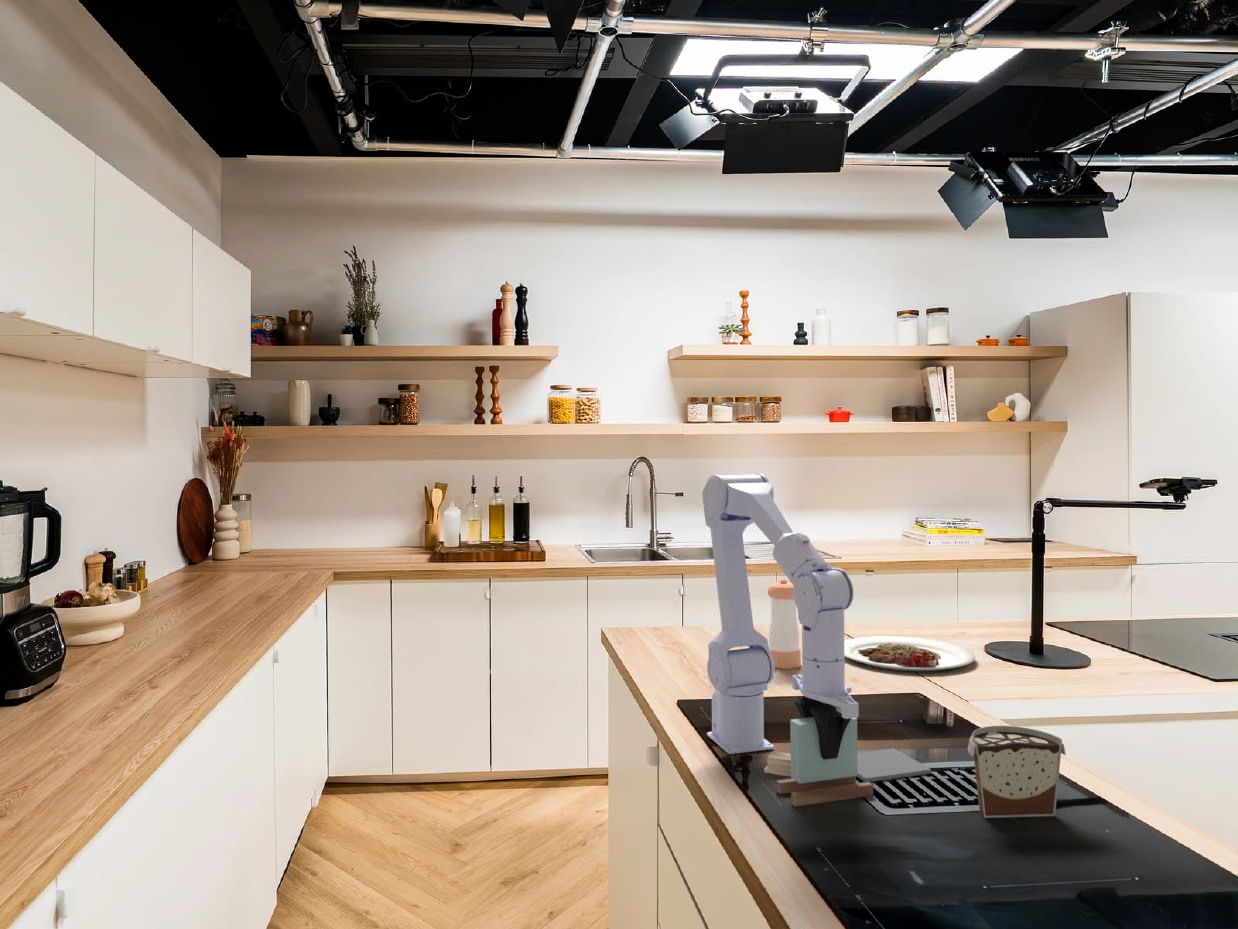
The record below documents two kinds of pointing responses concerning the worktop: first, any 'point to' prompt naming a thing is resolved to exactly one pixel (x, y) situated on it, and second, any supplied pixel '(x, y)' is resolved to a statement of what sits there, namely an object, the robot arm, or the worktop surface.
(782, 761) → the offcut planks
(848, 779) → the walnut rack
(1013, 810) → the food container
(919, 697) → the worktop surface
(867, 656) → the plated food
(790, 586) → the pepper shaker
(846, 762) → the tall board
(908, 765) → the slate mat
